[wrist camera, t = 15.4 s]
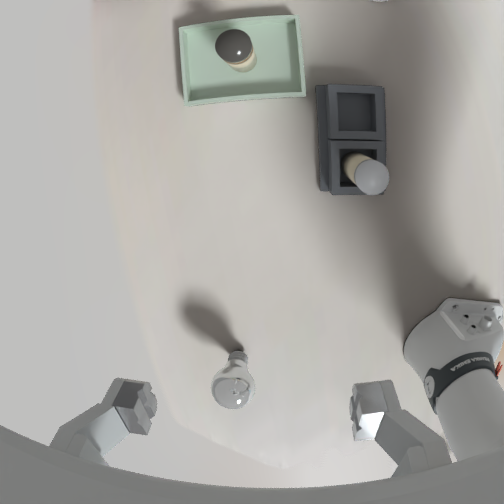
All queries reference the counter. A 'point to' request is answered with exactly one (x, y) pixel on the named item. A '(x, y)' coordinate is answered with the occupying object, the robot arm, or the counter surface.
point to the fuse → (365, 172)
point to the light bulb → (233, 382)
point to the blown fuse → (236, 50)
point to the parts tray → (248, 83)
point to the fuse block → (348, 131)
